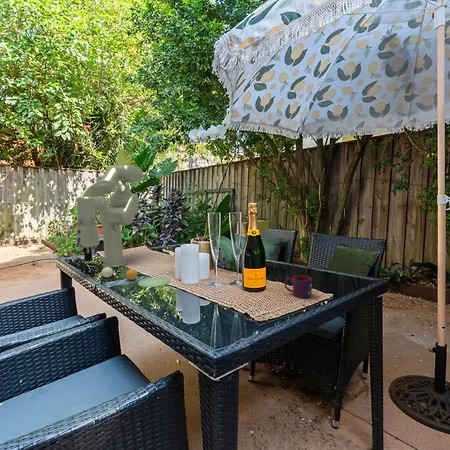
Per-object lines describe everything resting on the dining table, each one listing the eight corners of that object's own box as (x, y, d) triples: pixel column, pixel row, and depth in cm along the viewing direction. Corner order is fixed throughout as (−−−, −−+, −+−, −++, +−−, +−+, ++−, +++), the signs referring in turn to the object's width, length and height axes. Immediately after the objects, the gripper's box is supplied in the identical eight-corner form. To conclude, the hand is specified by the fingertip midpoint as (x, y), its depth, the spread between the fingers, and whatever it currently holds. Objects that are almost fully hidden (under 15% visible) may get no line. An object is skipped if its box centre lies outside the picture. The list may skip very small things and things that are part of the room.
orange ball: (123, 280, 139) (123, 270, 138) (130, 277, 144) (130, 267, 143) (133, 281, 137) (132, 270, 137) (139, 278, 142) (139, 268, 141)
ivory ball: (99, 278, 144) (98, 267, 144) (107, 275, 149) (106, 265, 148) (107, 279, 142) (107, 268, 142) (115, 276, 147) (114, 266, 146)
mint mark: (131, 285, 132) (131, 284, 132) (150, 276, 145) (150, 276, 145) (159, 288, 127) (159, 287, 127) (176, 279, 140) (176, 278, 140)
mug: (308, 300, 110) (308, 281, 109) (281, 295, 116) (281, 277, 115) (313, 294, 116) (314, 276, 115) (288, 290, 121) (288, 273, 120)
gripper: (80, 224, 138) (82, 264, 139) (104, 221, 152) (106, 258, 153) (67, 223, 140) (69, 263, 142) (92, 221, 154) (94, 257, 156)
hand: (88, 261), depth 147 cm, fingers closed
